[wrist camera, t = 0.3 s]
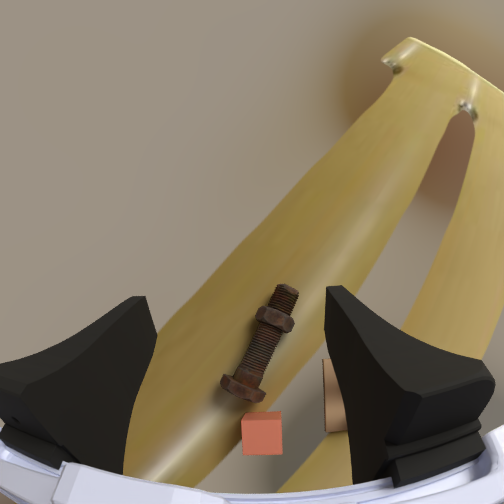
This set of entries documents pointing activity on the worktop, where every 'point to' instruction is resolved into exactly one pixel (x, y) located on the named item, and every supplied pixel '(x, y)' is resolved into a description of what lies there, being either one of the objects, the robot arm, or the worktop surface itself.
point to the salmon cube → (262, 433)
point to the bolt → (262, 345)
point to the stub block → (332, 400)
